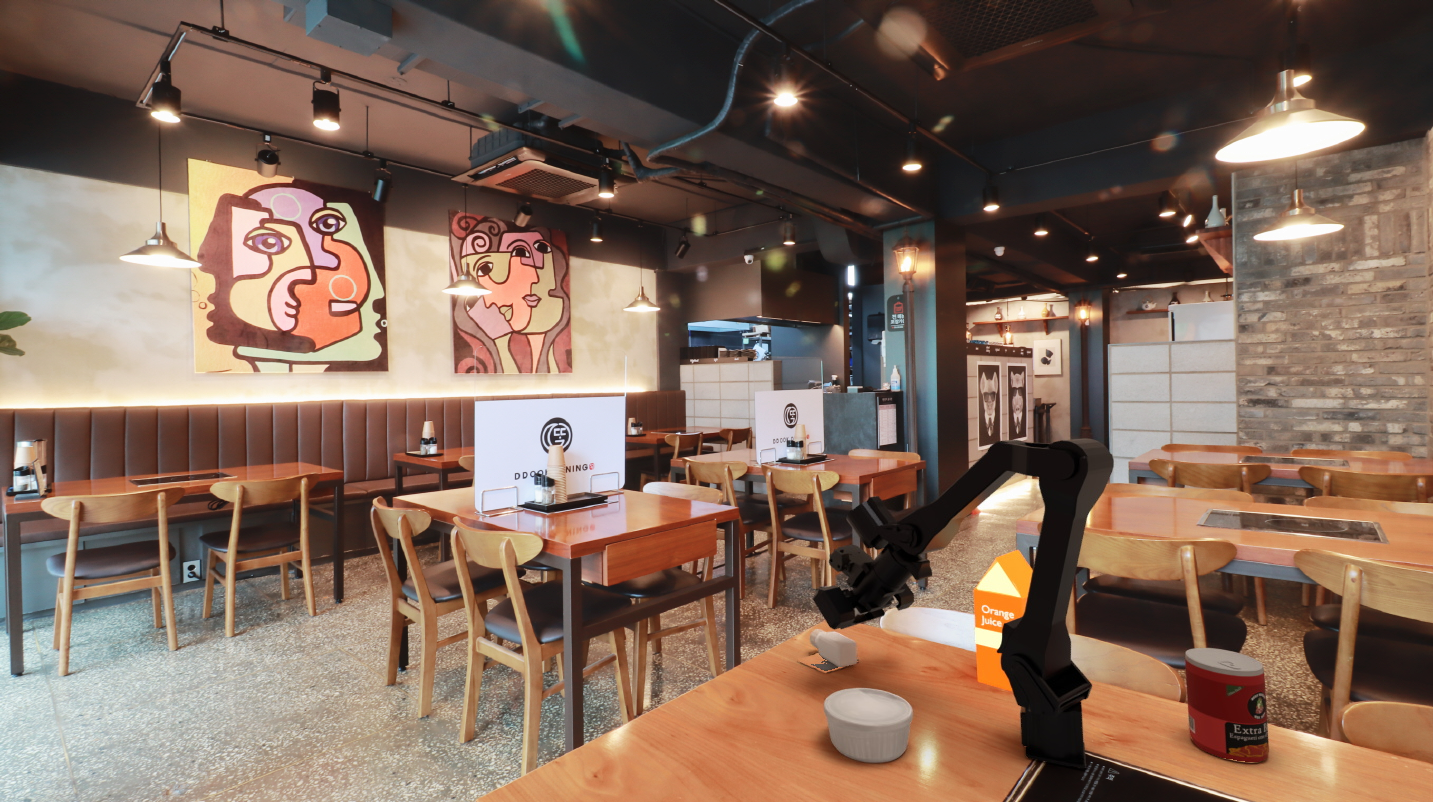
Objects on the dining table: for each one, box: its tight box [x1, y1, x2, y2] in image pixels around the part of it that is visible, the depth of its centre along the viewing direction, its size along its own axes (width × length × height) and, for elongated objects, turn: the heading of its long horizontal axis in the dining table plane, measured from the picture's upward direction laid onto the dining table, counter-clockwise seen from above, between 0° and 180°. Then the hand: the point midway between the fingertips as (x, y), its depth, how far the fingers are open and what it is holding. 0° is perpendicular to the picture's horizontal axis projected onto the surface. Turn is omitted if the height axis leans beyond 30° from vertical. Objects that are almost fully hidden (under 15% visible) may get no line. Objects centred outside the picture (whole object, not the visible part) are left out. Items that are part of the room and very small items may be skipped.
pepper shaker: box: [809, 628, 858, 668], centre depth 113 cm, size 4×4×10 cm
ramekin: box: [823, 687, 914, 764], centre depth 83 cm, size 11×11×5 cm
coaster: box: [811, 658, 859, 671], centre depth 112 cm, size 7×8×1 cm
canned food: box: [1184, 647, 1270, 763], centre depth 80 cm, size 8×8×11 cm
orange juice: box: [973, 549, 1033, 693], centre depth 102 cm, size 8×9×20 cm
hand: (840, 626), depth 109 cm, fingers closed
